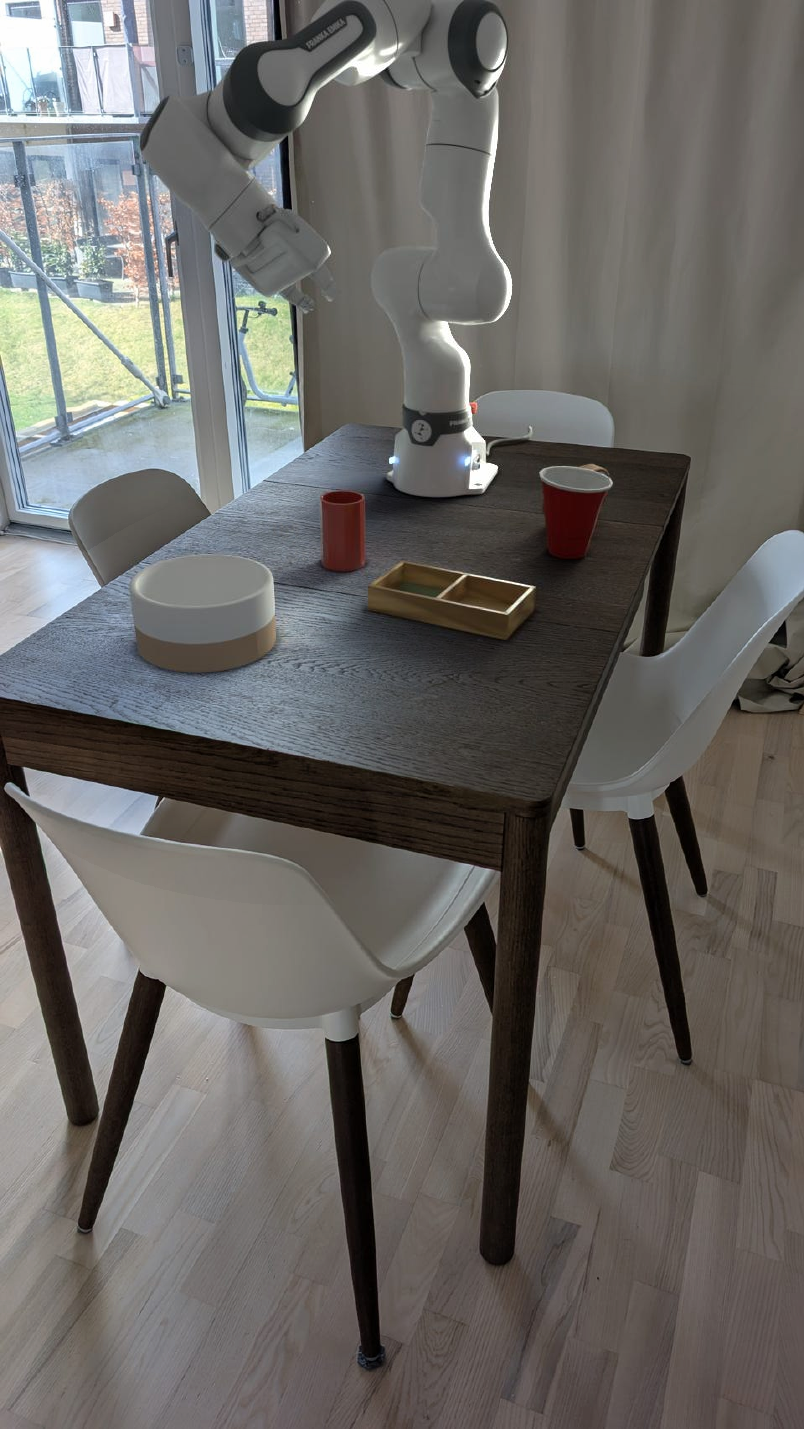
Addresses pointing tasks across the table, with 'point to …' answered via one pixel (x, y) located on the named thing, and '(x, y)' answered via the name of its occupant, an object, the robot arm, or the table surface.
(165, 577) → the bowl
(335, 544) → the cup
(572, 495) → the plastic cup
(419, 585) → the caddy
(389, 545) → the table surface
